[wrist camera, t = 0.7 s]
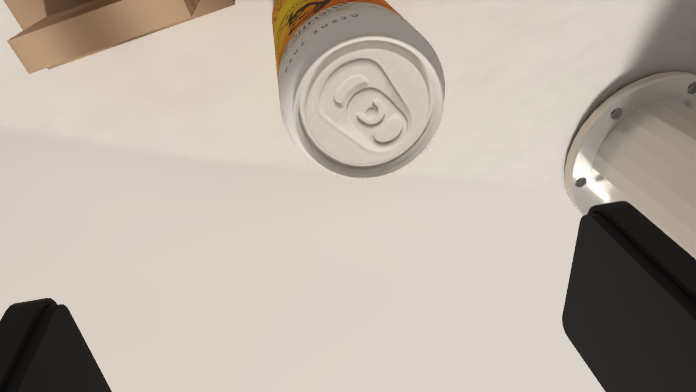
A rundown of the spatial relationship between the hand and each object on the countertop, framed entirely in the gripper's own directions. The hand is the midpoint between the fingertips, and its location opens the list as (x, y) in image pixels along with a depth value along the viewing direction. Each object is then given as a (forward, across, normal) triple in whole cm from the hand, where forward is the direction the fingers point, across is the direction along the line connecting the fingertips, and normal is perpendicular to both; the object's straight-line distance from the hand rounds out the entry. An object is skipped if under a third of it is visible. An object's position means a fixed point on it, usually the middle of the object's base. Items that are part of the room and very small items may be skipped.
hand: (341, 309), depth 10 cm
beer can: (+24, -2, 0) cm, 25 cm away
